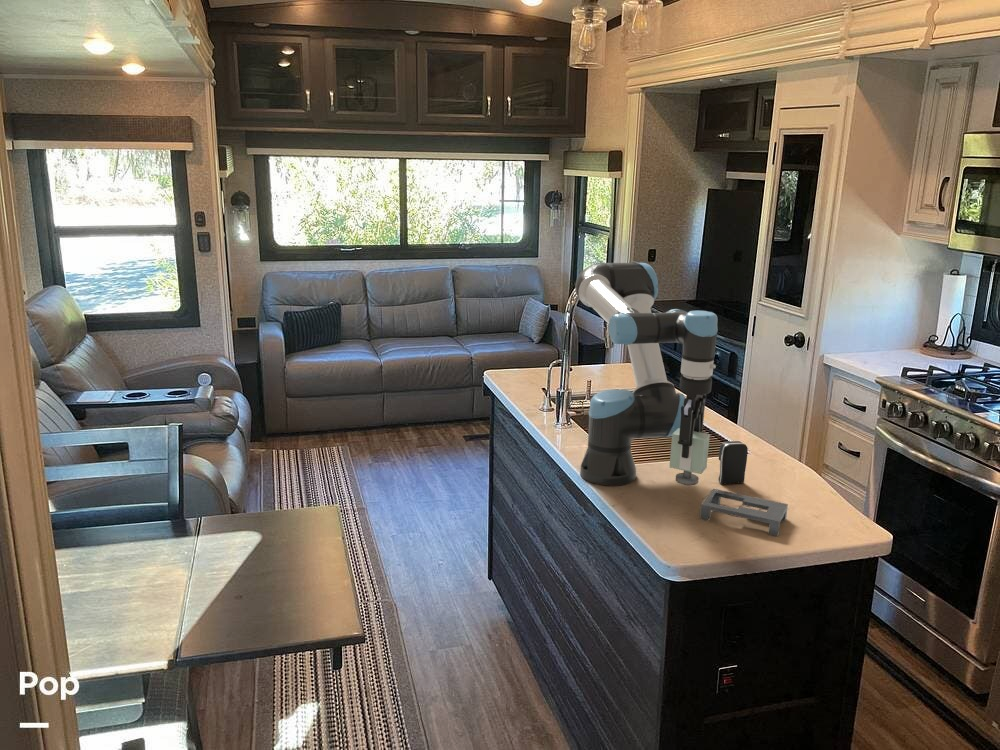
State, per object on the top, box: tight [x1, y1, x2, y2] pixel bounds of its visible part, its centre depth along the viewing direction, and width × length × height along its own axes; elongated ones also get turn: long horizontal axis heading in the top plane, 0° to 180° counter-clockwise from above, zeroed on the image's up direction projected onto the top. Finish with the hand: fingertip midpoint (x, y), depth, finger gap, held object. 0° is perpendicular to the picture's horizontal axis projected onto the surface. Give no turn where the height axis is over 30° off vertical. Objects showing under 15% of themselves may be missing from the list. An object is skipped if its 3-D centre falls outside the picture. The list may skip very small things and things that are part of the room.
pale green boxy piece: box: [669, 428, 711, 486], centre depth 195 cm, size 8×6×12 cm
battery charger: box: [718, 440, 749, 485], centre depth 210 cm, size 7×4×11 cm, turn 100°
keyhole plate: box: [699, 488, 789, 537], centre depth 189 cm, size 18×11×4 cm, turn 60°
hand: (688, 464), depth 196 cm, fingers closed on pale green boxy piece, 5 cm apart
